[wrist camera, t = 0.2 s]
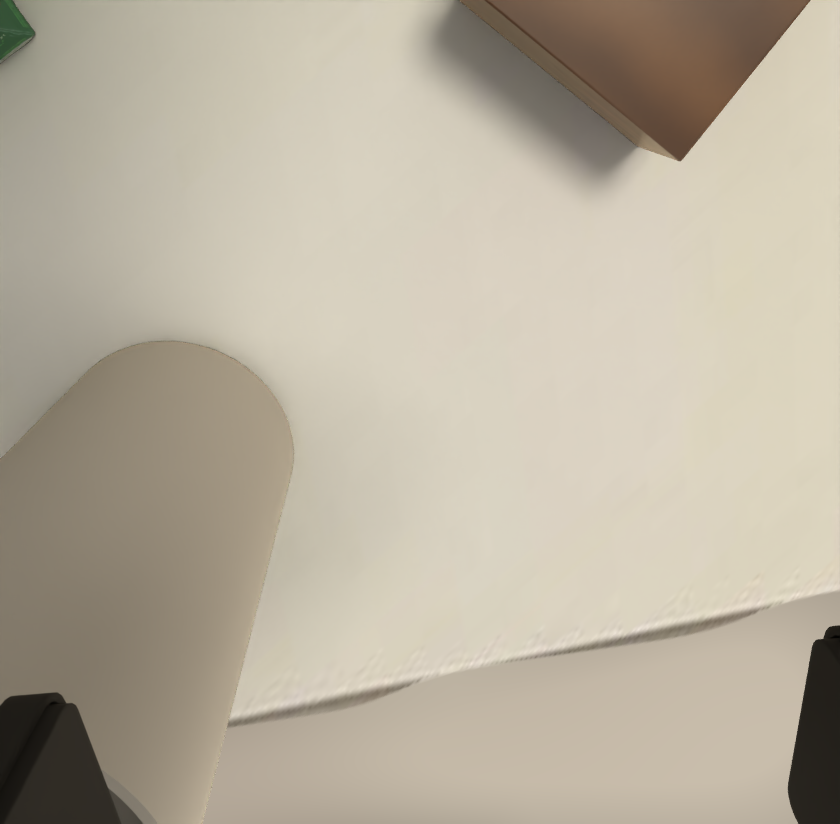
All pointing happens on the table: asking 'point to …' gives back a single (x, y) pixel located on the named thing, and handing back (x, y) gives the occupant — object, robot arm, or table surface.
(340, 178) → the table surface
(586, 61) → the walnut block
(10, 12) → the coffee box
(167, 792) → the cylinder vase
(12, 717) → the robot arm
